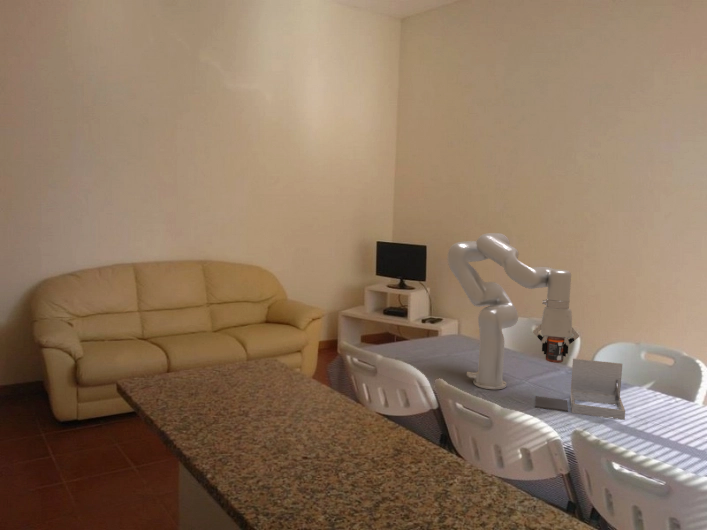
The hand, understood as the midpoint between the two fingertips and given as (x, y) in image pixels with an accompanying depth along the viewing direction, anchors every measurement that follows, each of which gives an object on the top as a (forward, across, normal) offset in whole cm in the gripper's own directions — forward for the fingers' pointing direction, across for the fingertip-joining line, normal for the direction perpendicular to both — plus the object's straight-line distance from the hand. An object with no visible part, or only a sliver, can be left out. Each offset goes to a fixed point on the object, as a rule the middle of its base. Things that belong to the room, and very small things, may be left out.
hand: (554, 354), depth 201 cm
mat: (+19, 0, 0) cm, 19 cm away
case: (+19, +15, +2) cm, 24 cm away
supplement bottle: (+3, 0, 0) cm, 3 cm away
